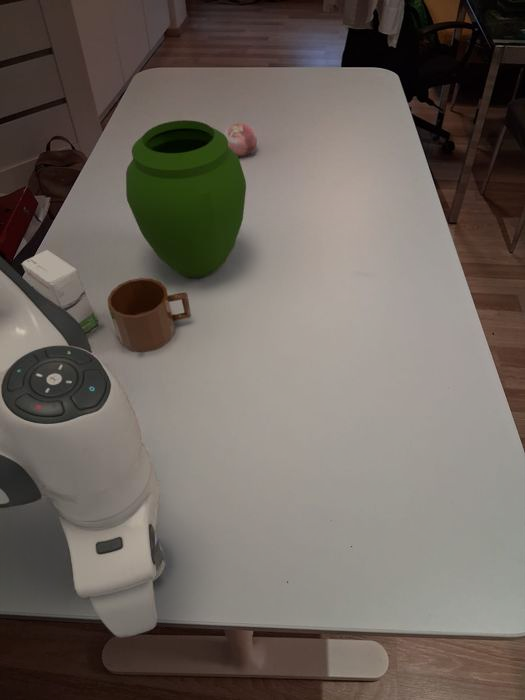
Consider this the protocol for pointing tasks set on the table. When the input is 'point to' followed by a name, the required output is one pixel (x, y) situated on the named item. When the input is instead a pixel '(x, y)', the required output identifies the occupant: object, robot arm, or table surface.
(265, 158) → the table surface
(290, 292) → the table surface
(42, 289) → the ink box
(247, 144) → the onion
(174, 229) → the vase
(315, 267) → the table surface
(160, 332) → the mug
